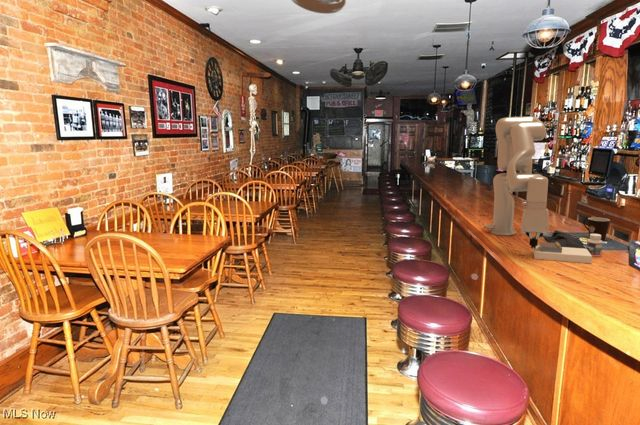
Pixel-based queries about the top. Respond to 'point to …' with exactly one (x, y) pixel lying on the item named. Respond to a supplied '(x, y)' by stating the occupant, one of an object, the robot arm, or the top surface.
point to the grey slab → (550, 247)
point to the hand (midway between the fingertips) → (533, 247)
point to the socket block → (564, 255)
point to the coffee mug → (597, 226)
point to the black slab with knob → (565, 240)
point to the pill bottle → (594, 245)
